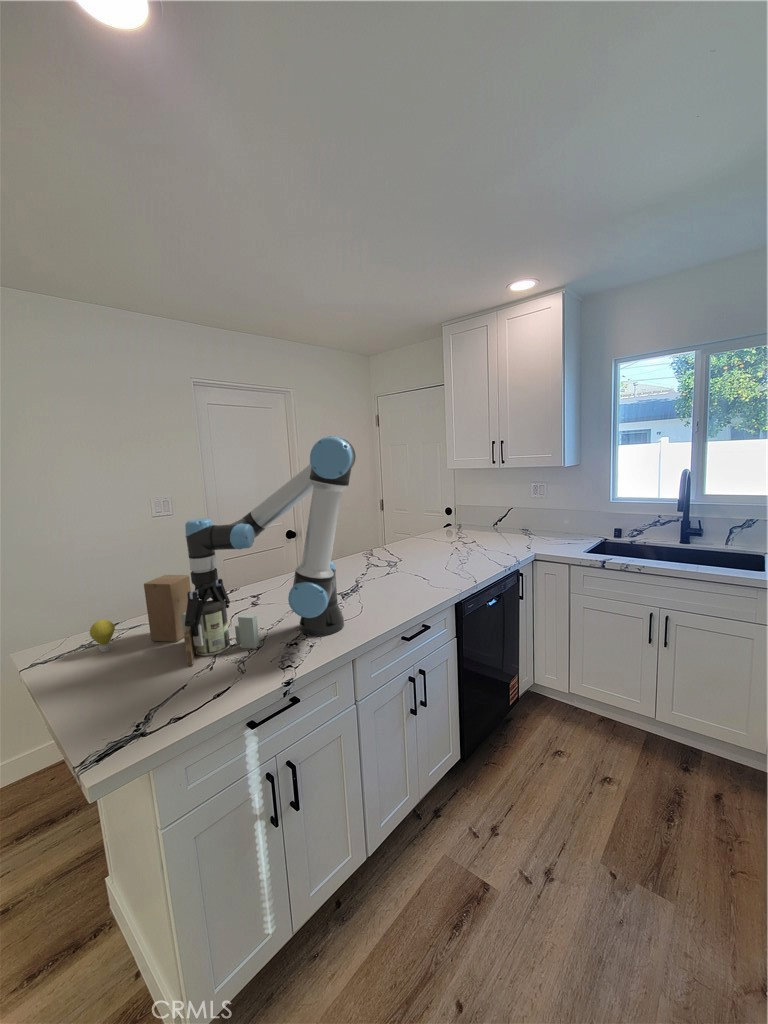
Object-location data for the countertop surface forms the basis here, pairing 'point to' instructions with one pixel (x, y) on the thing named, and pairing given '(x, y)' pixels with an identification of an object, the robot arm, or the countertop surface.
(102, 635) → the light bulb
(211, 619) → the coffee can
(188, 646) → the gate
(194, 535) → the robot arm
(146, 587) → the wooden block
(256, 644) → the grey piece
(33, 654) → the countertop surface
